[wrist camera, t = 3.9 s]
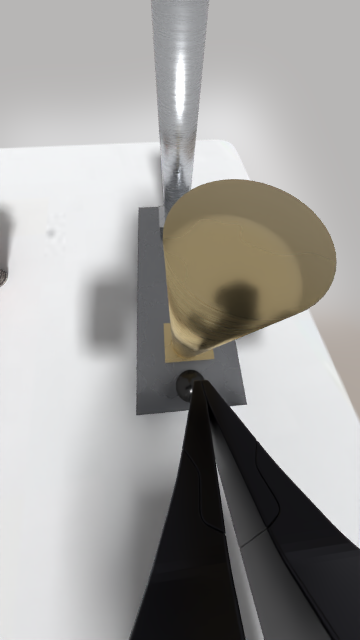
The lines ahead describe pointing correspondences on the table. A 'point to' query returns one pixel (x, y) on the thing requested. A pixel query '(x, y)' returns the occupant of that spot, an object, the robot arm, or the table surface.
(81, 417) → the table surface
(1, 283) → the lighter
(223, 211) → the gold tapered block
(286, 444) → the table surface
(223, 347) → the bolt plate
